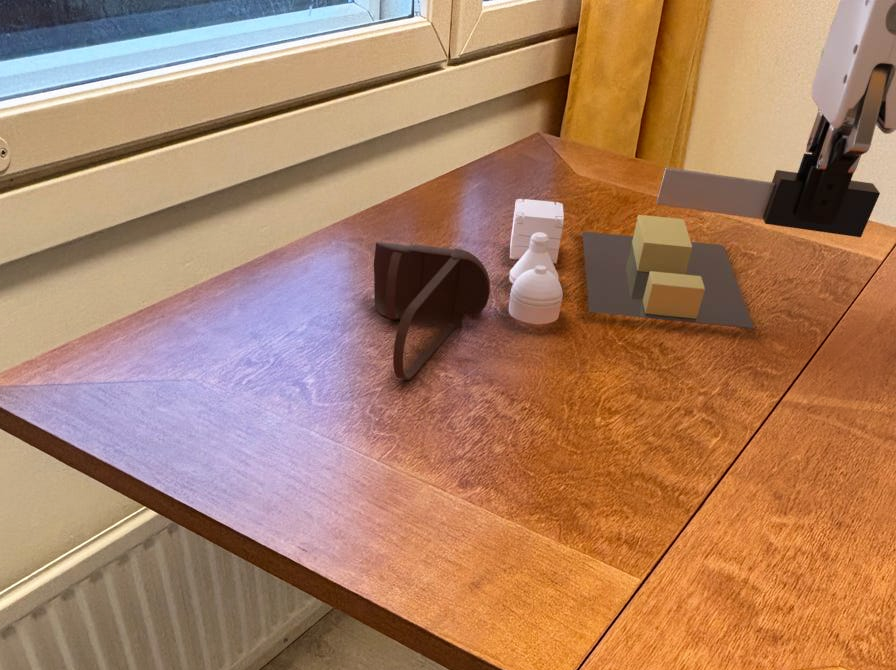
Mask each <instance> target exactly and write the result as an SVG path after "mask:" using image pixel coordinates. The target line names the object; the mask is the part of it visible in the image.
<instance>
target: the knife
mask: <svg viewBox="0 0 896 670" xmlns="http://www.w3.org/2000/svg"><path fill="white" fill-rule="evenodd" d="M808 175H809V174H802V173H798V172H795V171H788V170H781V169H775V172H774V174H773V177H772V181H764V180H757V179H752V178H751V179H750V178H743V177H736V176H730V175H722V174H715V173H707V172H700V171H693V170H688V169H681V168H680V169H679V168H674V167H673V168H672V167H665V169H664V172H663V176H662V179H661V184H660V187H659V190H658V191H659V192H658V194H657V198H656V201H655V204H656V205H657V206H665V207H672V208H679V209H685V210H691V211H698V212H699V211H700V212H706V213H707V212H708V213H713V214H714V213H715V214H721V215H726V216H727V215H728V216H735V217H740V218H741V217H742V218H747V219H748V218H749V219H756V220H763V222H764V224H765V225H771V226H778V227H784V228H791V229H798V230H805V231H813V232H819V233H826V234H834V235H841V236H848V237H854V238H862V235H863V233H864V231H865V229H866V227H867V224H868V223H869V220H870V218H871V216H872V213H873V211H874V209H875V207H876V204H877V202H878V199H879V197H880V195H881V193H880V191H879V190H878V188H877V187H876V185H875V184H874V183H872V182H866V181H859V180H852V179H851V181H850V184H849V187H848V189H847V192H846V195H845V197H844V200H843V202H842V205H841V208H840V210H839V213H838V216H837V218H836V221H835V222H834V223H833V224H821V223H812V222H802V221H798V220H797V219H796V217H795V212H796V209H797V207H798V204H799V201H800V198H801V195H802V192H803V189H804V186H805V183H806V180H807V178H808Z"/></svg>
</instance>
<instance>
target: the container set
mask: <svg viewBox="0 0 896 670" xmlns="http://www.w3.org/2000/svg"><path fill="white" fill-rule="evenodd" d="M564 216H565V215H564V204H563V203H561V202H559V201H549V200H540V199H539V200H537V199H527V198H517V199H515V203H514V212H513V219H512V227H511V233H510V234H511V235H510V242H509V243H510V244H509V260H518V261H516V262H515V264H514V265H513V266H512V267H511V269H510V270H509V276H508V280H509V282H510V283H511V284H512V286H511V289H510V293H509V302H508V313H509V315H510V316H511V317H512V318H513V319H515V320H516V321H519V322H522V323H526V324H530V325H547V324H551V323H554V322H555V321H557V320H558V319H559V316H560V311H561V306H562V303H563V296H564V295H563V294H564V293H563V288H562V285H561V281H559V274H558V271H557V269H556V267H555V264H557V263H558V258H559V257H558V256H559V252H560V245H561V241H562V235H563V227H564V220H565V217H564Z"/></svg>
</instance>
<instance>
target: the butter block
mask: <svg viewBox="0 0 896 670" xmlns="http://www.w3.org/2000/svg"><path fill="white" fill-rule="evenodd" d="M636 218H637V219H636V223H635V227H634V232H633V235H632V236H633V240H632V244H633V250H634V255H635V260H636V266H637V271H641V272H650V271H654V272H664V273H674V274H684V275H685V273H686V269H687V266H688V262H689V258H690V255H691V251H692V244H691V242H692V241H691V237H690V235H689V232H688V229H687V224H686V221H685V219H684V218H677V217H666V216H656V215H645V214H638V215H637V217H636Z"/></svg>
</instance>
